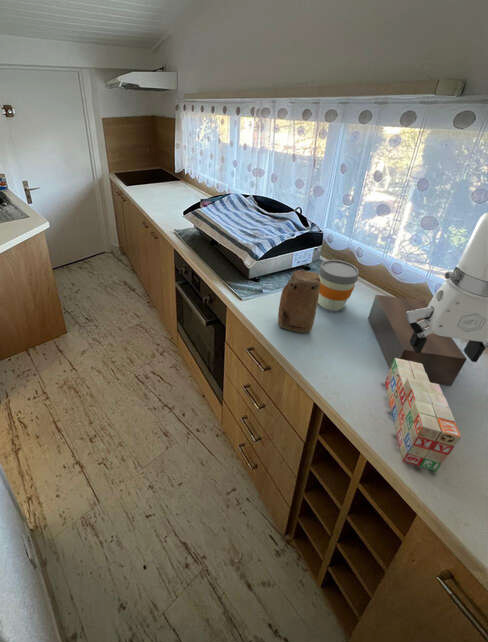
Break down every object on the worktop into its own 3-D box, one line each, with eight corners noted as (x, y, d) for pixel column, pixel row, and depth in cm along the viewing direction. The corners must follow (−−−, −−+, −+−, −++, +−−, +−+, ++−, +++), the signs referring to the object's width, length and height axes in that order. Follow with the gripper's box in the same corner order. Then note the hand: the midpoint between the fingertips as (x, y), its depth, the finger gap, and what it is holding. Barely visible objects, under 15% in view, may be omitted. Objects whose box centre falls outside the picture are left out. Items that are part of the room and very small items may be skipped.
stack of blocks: (383, 381, 82) (398, 348, 76) (410, 388, 80) (427, 354, 74) (402, 461, 64) (422, 426, 59) (437, 472, 62) (462, 437, 57)
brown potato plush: (309, 321, 104) (320, 271, 95) (311, 336, 98) (324, 284, 88) (276, 316, 107) (284, 267, 97) (277, 330, 100) (285, 279, 91)
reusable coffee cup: (327, 289, 120) (335, 256, 113) (356, 306, 111) (367, 271, 104) (305, 299, 115) (312, 265, 108) (333, 318, 105) (343, 281, 98)
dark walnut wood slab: (413, 324, 102) (424, 300, 97) (451, 386, 81) (467, 358, 76) (367, 318, 105) (375, 294, 100) (392, 376, 84) (404, 349, 79)
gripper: (433, 286, 52) (400, 358, 60) (556, 300, 49) (504, 375, 57) (415, 265, 59) (388, 333, 67) (523, 276, 55) (480, 346, 63)
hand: (441, 352), depth 62 cm, fingers open, 9 cm apart
